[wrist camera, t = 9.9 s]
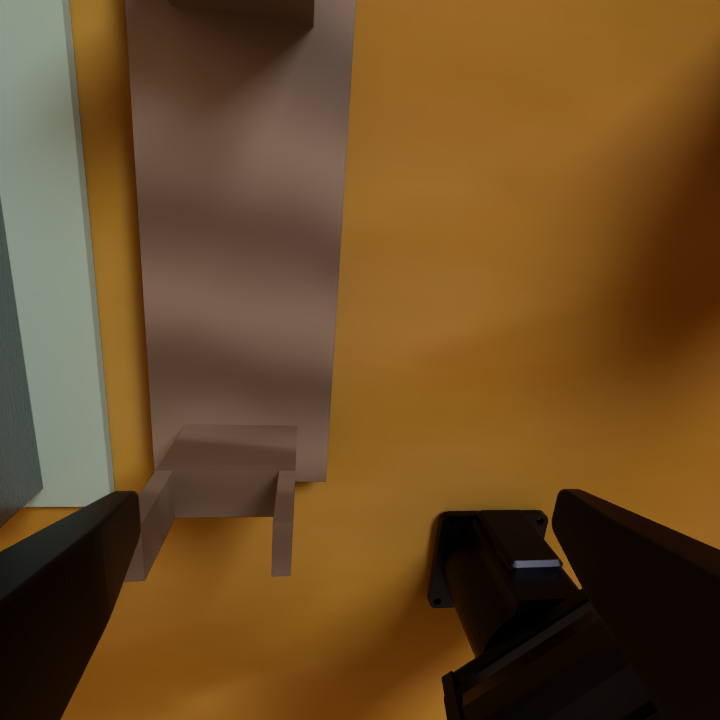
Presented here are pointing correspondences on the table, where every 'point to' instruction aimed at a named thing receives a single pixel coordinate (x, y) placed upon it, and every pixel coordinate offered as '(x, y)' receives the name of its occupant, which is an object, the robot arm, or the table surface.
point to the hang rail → (14, 403)
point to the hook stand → (238, 251)
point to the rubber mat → (52, 251)
